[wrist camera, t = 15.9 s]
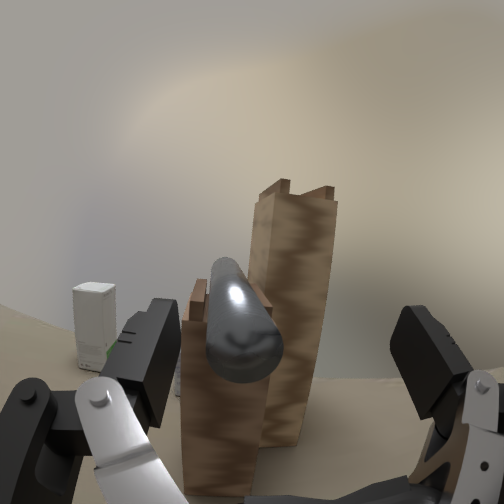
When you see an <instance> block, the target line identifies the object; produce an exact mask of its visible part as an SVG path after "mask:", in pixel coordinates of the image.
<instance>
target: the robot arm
mask: <svg viewBox="0 0 504 504" xmlns="http://www.w3.org/2000/svg"><path fill="white" fill-rule="evenodd" d="M178 314H179V313H178V306H177V301H176V300H173V299H161V298H154V299H153V300H152V302H151V304H150V306H149V308H148V310H147V312H141V311H138V312H137V313H136V314H135V315H133V316H132V317H131V318H130V319H128V321H127V322H126V324H125V326H124V328H123V330H122V333H121V334H120V335H119V337H118V339H117V342H116V343H115V345H114V347H113V349H112V351H111V353H110V355H109V357H108V359H107V361H106V363H105V365H104V367H103V369H102V371H101V373H100V375H99V376H98V377H94V378H91V379H89V380H87V381H85V382H84V383H82V384H81V385H80V387H79V388H78V389H77V390H74V391H51V390H50V389H49V387H48V386H47V384H46V383H45V382H44V381H43V380H41V379H39V378H27V379H24V380H22V381H20V382H19V383H18V384H17V385H16V386H15V387H14V388H13V390H12V392H11V394H10V396H9V397H8V399H7V401H6V403H5V405H4V407H3V409H2V411H1V413H0V504H72V500H73V495H74V491H75V487H76V483H77V479H78V475H79V471H80V467H81V464H82V460H83V457H84V456H93V458H94V460H95V463H96V468H94V474H95V477H96V480H97V483H98V485H99V487H100V489H101V492H102V494H103V496H104V498H105V500H106V502H107V504H189V503H188V501H187V500H186V499H185V497H184V496H183V494H182V493H181V491H180V490H179V488H178V487H177V486H176V484H175V483H174V481H173V480H172V478H171V476H170V475H169V473H168V472H167V470H166V469H165V467H164V465H163V464H162V462H161V460H160V459H159V457H158V455H157V454H156V452H155V450H154V449H153V447H152V446H151V444H150V442H149V440H148V438H147V433H148V429H149V426H150V427H155V428H160V426H161V422H162V418H163V414H164V410H165V406H166V402H167V398H168V394H169V391H170V387H171V383H172V379H173V376H174V372H175V368H176V365H177V361H178V357H179V354H180V349H181V329H180V322H179V315H178ZM390 351H391V354H392V356H393V358H394V361H395V363H396V365H397V367H398V369H399V371H400V374H401V376H402V378H403V380H404V382H405V385H406V387H407V389H408V392H409V394H410V396H411V398H412V401H413V403H414V405H415V408H416V410H417V413H418V415H419V417H420V420H423V419H427V418H431V417H433V419H434V422H433V423H432V424H431V426H430V428H429V432H428V435H427V438H426V441H425V444H424V447H423V450H422V453H421V456H420V458H419V461H418V464H417V466H416V468H415V470H414V471H413V473H412V474H411V475H410V476H409V478H408V479H407V475H405V476H402V477H398V478H394V479H391V480H387V481H383V482H378V483H374V484H371V485H369V486H367V487H365V488H362V489H360V490H358V491H356V492H353V493H351V494H349V495H346V496H344V497H341V498H339V499H336V500H323V499H313V498H305V497H298V496H291V495H282V496H244V503H239V504H504V384H503V383H497V381H496V380H495V378H494V377H493V376H492V375H491V374H489V373H488V372H486V371H483V370H473V368H472V367H471V365H470V363H469V362H468V360H467V359H466V357H465V356H464V354H463V353H462V351H461V350H460V348H459V347H458V345H457V344H455V341H454V339H453V338H452V337H450V334H449V332H448V331H447V330H446V328H445V327H444V325H442V324H441V323H440V322H439V321H437V320H436V319H435V318H433V316H432V315H431V314H430V312H429V311H428V310H427V308H426V307H425V306H423V305H416V306H405V307H404V308H403V309H402V311H401V314H400V317H399V319H398V322H397V325H396V327H395V329H394V332H393V334H392V337H391V340H390Z"/></svg>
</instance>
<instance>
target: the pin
mask: <svg viewBox="0 0 504 504" xmlns="http://www.w3.org/2000/svg"><path fill="white" fill-rule="evenodd" d="M283 350H284V344H283V339H282V336H281V334H280V332H279V330H278V328H277V327H276V325H275V324H274V322H273V320H272V319H271V317H270V316H269V314H268V312H267V311H266V309H265V308H264V306H263V304H262V303H261V301H260V300H259V298H258V296H257V295H256V293H255V291H254V290H253V288H252V287H251V285H250V283H249V282H248V280H247V278H246V277H245V275H244V274H243V272H242V270H241V269H240V267H239V265H238V264H237V262H236V261H235V260H233V259H231V258H228V257H223V258H219V259H218V260H217V261H215V262H214V264H213V266H212V269H211V281H210V293H209V305H208V318H207V333H206V358H207V361H208V363H209V365H210V367H211V368H212V370H213V371H214V372H215V373H216V374H217V375H218V376H220V377H221V378H223V379H225V380H227V381H230V382H233V383H239V384H247V383H253V382H257V381H259V380H262V379H264V378H265V377H267V376H268V375H270V374H271V373H272V372H273V371H274V370H275V369H276V368H277V366H278V365H279V363H280V361H281V359H282V356H283Z"/></svg>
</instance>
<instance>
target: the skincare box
mask: <svg viewBox="0 0 504 504" xmlns="http://www.w3.org/2000/svg"><path fill="white" fill-rule="evenodd" d="M72 290H73V309H74V310H73V311H74V325H75V337H76V347H77V356H78V364H79V368H82V369H87V370H92V371H97V372H101V371H102V369H103V367H104V365H105V363H106V361H107V359H108V357H109V355H110V353H111V351H112V349H113V347H114V345H115V343H116V342H117V332H116V304H115V284H106V283H96V282H87V283H84V284H80V285H79V286H77V287H74V288H73V289H72Z"/></svg>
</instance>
